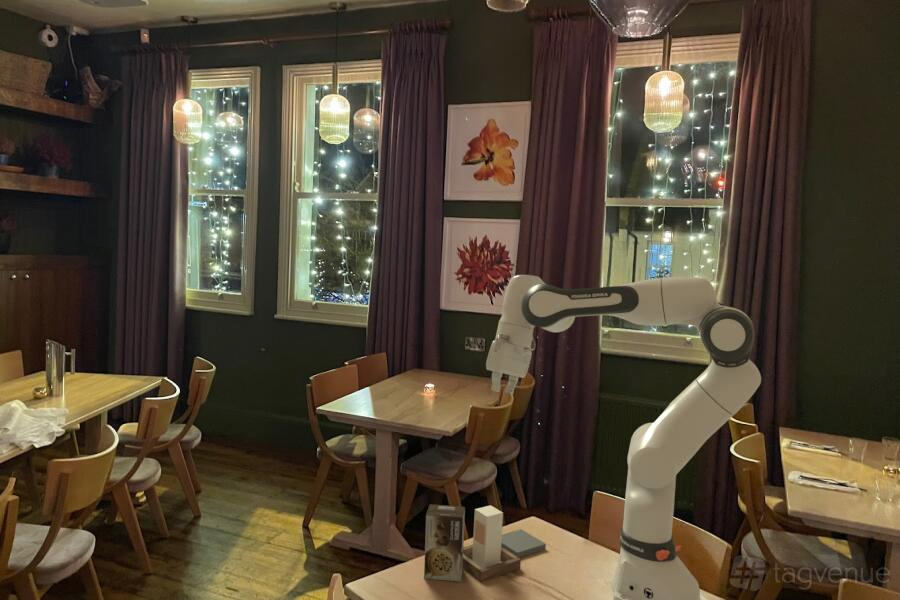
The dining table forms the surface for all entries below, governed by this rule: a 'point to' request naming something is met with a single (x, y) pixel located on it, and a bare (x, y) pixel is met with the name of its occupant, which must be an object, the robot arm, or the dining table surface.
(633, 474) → the robot arm
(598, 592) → the dining table surface
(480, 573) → the walnut crate
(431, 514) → the coffee box
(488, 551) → the off-white box
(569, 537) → the dining table surface
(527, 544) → the blue-grey square slab
